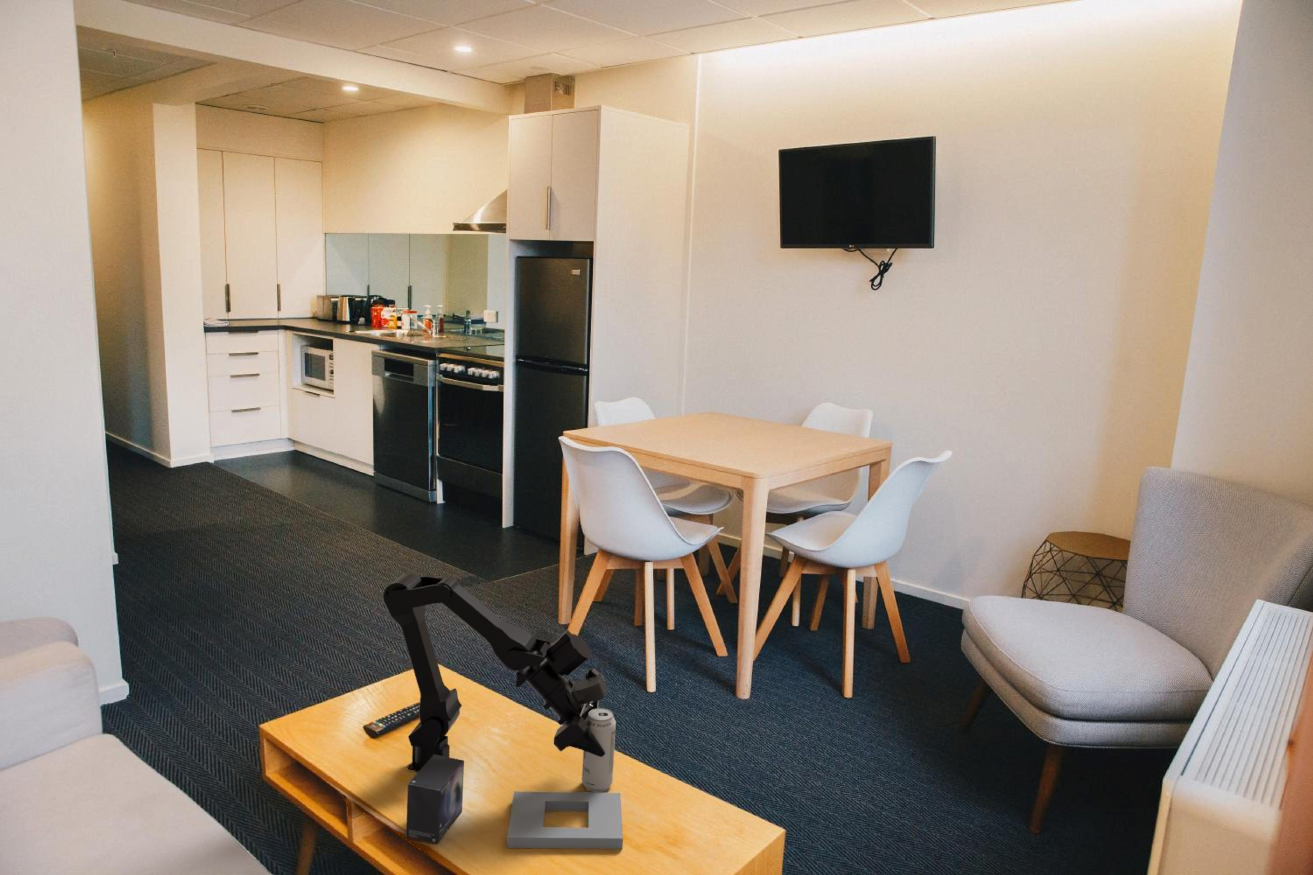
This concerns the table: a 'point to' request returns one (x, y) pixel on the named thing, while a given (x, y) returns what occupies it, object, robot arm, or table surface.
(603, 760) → the energy drink can
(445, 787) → the small box
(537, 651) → the robot arm
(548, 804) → the hole board
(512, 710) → the table surface
